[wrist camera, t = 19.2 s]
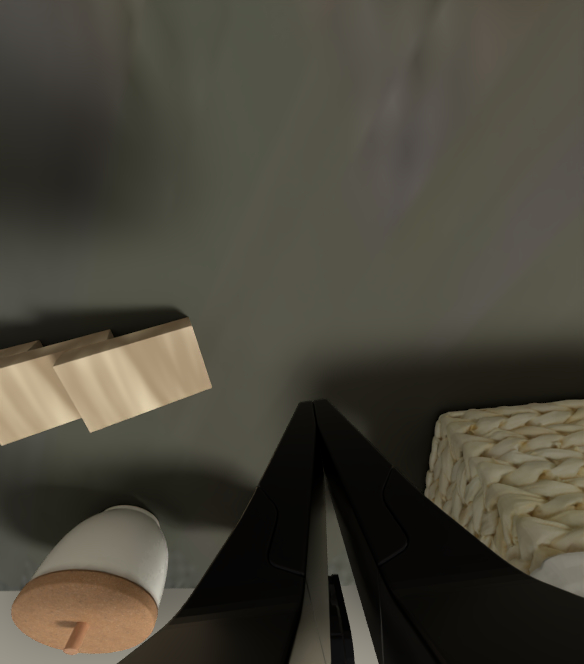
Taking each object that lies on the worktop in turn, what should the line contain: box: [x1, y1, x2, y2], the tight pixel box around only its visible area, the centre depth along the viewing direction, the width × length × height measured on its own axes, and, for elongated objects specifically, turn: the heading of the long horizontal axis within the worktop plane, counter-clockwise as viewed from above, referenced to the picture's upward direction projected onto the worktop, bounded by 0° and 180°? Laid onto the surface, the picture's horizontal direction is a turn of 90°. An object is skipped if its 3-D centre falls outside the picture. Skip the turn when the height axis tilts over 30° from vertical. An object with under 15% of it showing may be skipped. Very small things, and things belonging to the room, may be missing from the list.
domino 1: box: [0, 329, 114, 445], centre depth 20 cm, size 2×5×8 cm
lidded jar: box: [11, 505, 168, 655], centre depth 26 cm, size 11×11×9 cm
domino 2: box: [53, 317, 212, 433], centre depth 20 cm, size 2×5×8 cm
